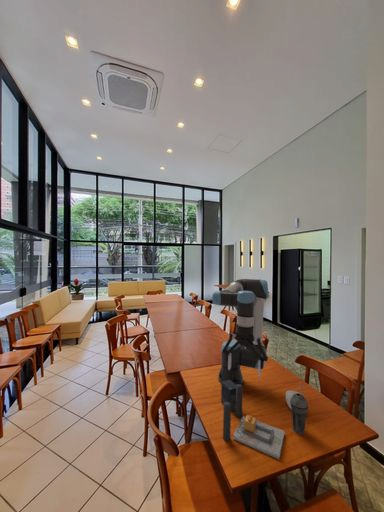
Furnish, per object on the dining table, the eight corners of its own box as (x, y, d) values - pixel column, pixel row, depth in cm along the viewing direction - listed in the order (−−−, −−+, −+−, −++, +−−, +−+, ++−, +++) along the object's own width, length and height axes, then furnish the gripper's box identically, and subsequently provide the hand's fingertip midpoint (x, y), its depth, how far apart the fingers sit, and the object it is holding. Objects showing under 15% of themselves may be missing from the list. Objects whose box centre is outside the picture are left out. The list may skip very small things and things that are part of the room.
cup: (291, 414, 108) (291, 400, 108) (280, 401, 118) (280, 388, 118) (305, 412, 109) (306, 399, 109) (293, 400, 119) (293, 387, 119)
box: (238, 408, 111) (239, 386, 112) (229, 411, 109) (230, 389, 109) (229, 399, 118) (230, 379, 119) (220, 402, 116) (221, 381, 116)
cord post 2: (234, 416, 106) (235, 386, 106) (236, 412, 108) (237, 383, 108) (240, 418, 104) (241, 388, 104) (242, 414, 107) (243, 385, 107)
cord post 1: (221, 439, 92) (222, 404, 92) (224, 434, 94) (225, 401, 95) (228, 442, 90) (229, 407, 91) (231, 437, 93) (232, 403, 93)
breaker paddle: (243, 429, 95) (244, 418, 95) (246, 423, 98) (246, 413, 98) (253, 433, 93) (253, 422, 93) (255, 427, 96) (255, 416, 96)
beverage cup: (286, 424, 101) (287, 380, 101) (301, 423, 102) (302, 379, 102) (295, 437, 94) (295, 389, 94) (311, 436, 94) (312, 389, 95)
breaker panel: (233, 439, 92) (233, 431, 92) (243, 418, 104) (243, 412, 104) (279, 459, 83) (279, 451, 83) (284, 434, 95) (284, 427, 95)
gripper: (216, 323, 104) (215, 369, 103) (273, 331, 93) (272, 382, 92) (221, 319, 110) (220, 362, 110) (274, 327, 100) (273, 374, 99)
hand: (244, 371), depth 101 cm, fingers open, 13 cm apart
